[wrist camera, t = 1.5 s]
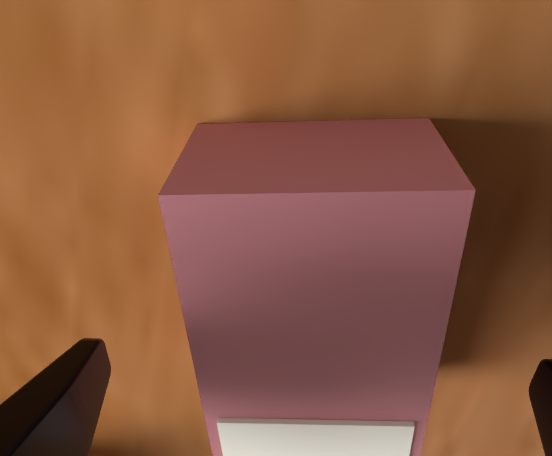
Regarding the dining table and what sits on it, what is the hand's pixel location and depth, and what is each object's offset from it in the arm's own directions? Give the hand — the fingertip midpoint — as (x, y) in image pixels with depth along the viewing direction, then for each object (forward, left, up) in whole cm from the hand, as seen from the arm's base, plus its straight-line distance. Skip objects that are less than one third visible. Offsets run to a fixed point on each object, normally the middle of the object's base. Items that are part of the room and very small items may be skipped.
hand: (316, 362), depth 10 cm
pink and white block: (0, 0, -3) cm, 3 cm away
